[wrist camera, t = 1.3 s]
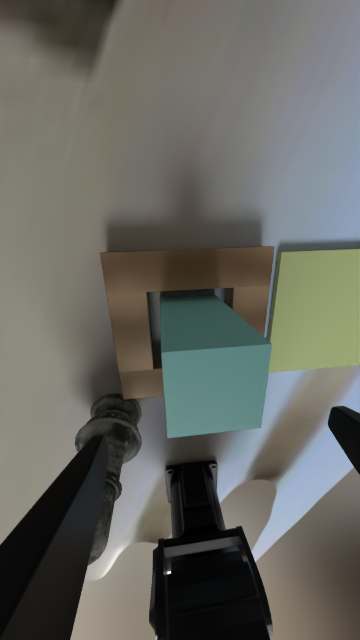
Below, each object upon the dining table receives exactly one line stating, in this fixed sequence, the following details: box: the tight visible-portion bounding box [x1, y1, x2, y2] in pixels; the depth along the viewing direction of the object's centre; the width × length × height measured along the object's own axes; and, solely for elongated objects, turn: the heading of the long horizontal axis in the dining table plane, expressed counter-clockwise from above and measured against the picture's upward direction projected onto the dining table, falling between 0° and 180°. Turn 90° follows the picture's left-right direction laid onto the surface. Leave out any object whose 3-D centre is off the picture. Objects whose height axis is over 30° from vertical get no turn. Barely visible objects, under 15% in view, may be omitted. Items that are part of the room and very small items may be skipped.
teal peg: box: [160, 295, 272, 438], centre depth 15 cm, size 5×5×10 cm
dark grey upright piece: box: [75, 394, 142, 565], centre depth 16 cm, size 6×6×12 cm
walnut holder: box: [100, 246, 274, 400], centre depth 18 cm, size 13×13×2 cm
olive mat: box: [267, 249, 360, 373], centre depth 20 cm, size 12×12×1 cm
